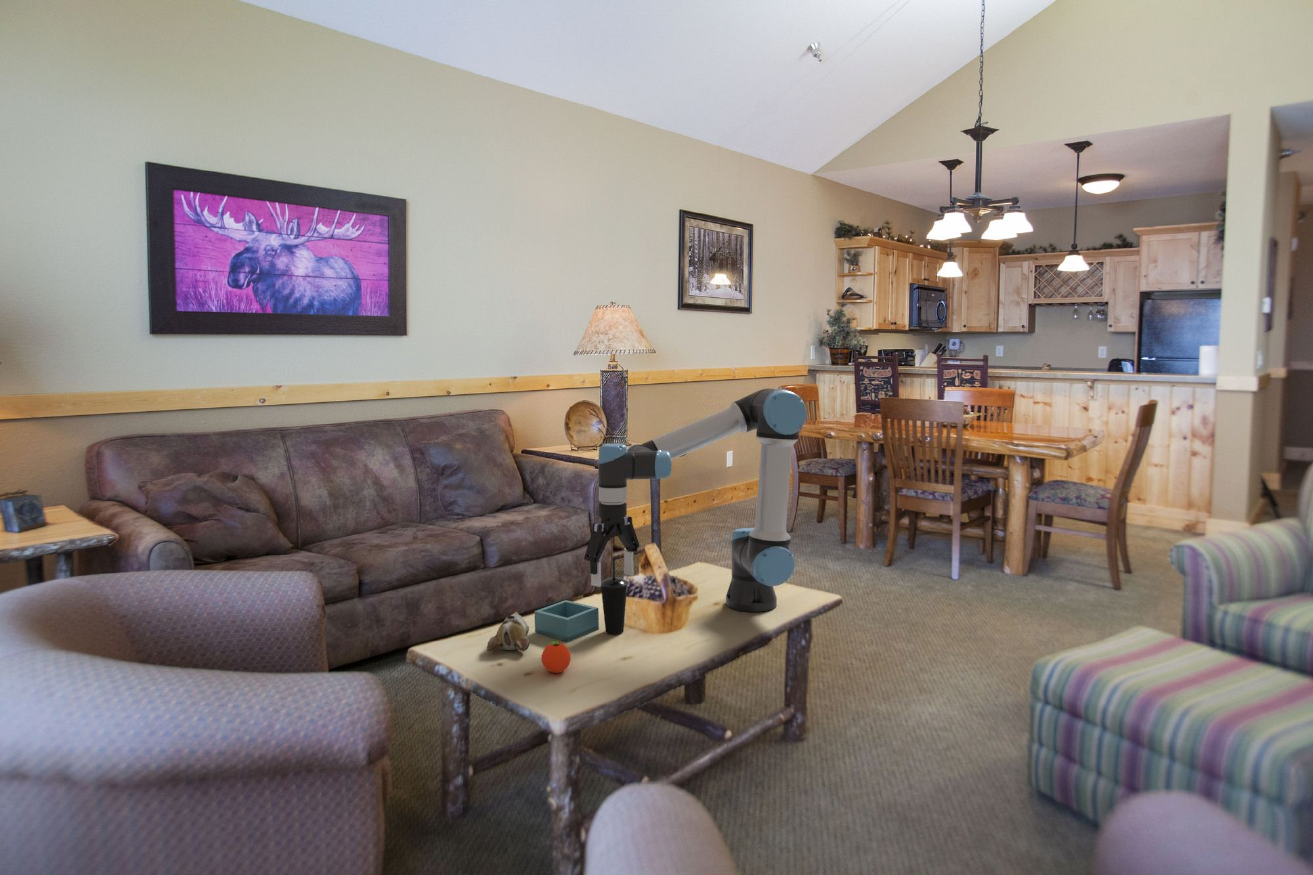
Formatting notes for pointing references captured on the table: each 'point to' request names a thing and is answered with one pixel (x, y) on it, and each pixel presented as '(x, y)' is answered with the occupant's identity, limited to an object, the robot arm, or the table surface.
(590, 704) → the table surface
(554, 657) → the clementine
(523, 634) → the ceramic sculpture
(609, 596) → the drinking cup
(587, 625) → the teal bin
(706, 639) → the table surface
